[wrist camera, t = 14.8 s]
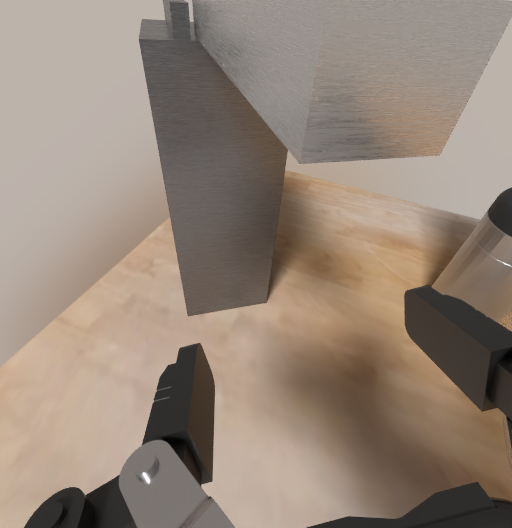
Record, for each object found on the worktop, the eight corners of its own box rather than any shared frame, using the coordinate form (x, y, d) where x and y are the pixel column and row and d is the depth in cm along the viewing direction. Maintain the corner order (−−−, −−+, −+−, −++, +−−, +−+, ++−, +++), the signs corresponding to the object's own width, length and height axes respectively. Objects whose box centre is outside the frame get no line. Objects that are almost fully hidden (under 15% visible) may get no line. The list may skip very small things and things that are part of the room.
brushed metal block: (440, 155, 8) (519, 2, 5) (299, 164, 7) (330, -16, 5) (245, 37, 23) (247, -16, 20) (194, 35, 22) (190, -20, 20)
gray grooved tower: (266, 302, 44) (307, 11, 21) (187, 316, 42) (131, -1, 18) (244, 243, 54) (255, 0, 31) (180, 251, 52) (137, -9, 28)
